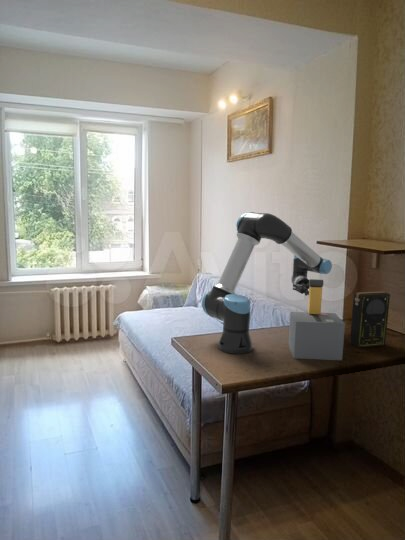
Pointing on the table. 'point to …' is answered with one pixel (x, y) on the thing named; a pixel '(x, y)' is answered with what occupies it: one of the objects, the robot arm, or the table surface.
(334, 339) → the box
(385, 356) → the table surface
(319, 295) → the yellow tall block
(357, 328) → the voltmeter
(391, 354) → the table surface
